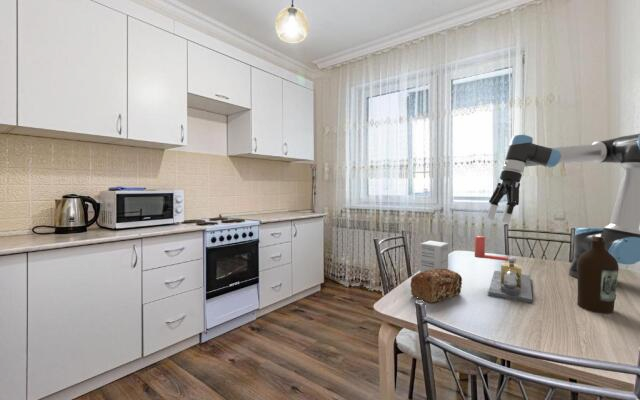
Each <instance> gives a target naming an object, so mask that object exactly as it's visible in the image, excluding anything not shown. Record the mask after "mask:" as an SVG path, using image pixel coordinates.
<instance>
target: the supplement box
mask: <svg viewBox="0 0 640 400" xmlns="http://www.w3.org/2000/svg"><path fill="white" fill-rule="evenodd" d="M419 252H420V253H419V254H420V255H419V257H420V258H419V260H420V261H419V263H420V264H419V273H420V272H424V271H428V270H432V269H448V270H449V242H444V241H443V242H442V241H435V240H428V241H424V242H421V243H420V251H419Z"/></svg>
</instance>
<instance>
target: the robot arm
mask: <svg viewBox="0 0 640 400" xmlns="http://www.w3.org/2000/svg"><path fill="white" fill-rule="evenodd" d="M533 140H534V139H533V137H532V136H530V135H527V134H516V135H514V136H512V137H511V140H510V143H509V145H508V149H507V153H506V157H505V160H504V161H503V163H502V164H503V167H502V171H501V173H500V176H499V179H500V180H501V181H502V182H498V183H497V184H496V187H495V190H494V191H493V193H492V195H491V197H490V198H489V201H488V203H490V206H489V209H488V213H487V216H486V219H489V220H495V217H496V214H497V210H498V207H499V202H501V200H502V199H503V197H504V196H506V201H507V202H506V205H505V209H504V211H503V215H502V219H501V221H502V222H507V223H510V221H511V218H512V215H513V213H514V212H513V211H514V209H515V207H516V206H519V204H520V188H521V183H520V182H521V180H522V177H523V173H524V169H525V167H536V166H542V167H548V168H553V167H556V166H557V165H558V164H570V163H583V162H584V163H585V162H593V163H595V164H599V163H600V164H601V163H615V164H620V166H621V167H622V168H623V173H622V176H621V180H620V184H619V186H618V192H617V194H616V195H617V196H616V199H615V204H614V207H613V211H612V215H611V218H610V221H609V224H607V225H606V226H603V227H577V228H576V229H575V233H574V250H573V254H574V255H573V260H572V262H571V264H570V266H569V268H568V275H569V276H571V277H574V278H577V279H578V276H577V261H578V258H579V256H580V255H581V254H583V253H584V252H586V251H587V250H588V249H590V248H591V247H592V240H593V239H592V237H593V236H598V237H604V238H605V240H604V241H605V249H606V250H607V251H608V252H609V253H610V254H611V255H612V256H613V257H614V258H615V259H616V261H617V263H618V264H620V265H627V266H628V265H634V264H637V263H639V262H640V133H636V134H630V135H623V136H619V137H614V138H611V139H606V140H601V141H600V140H599V141H594V142H593V143H592V144H580V145H579V144H578V145H569V146H558V147H547V146H544V145H539V144H535V143H533Z"/></svg>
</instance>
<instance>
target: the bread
mask: <svg viewBox="0 0 640 400" xmlns="http://www.w3.org/2000/svg"><path fill="white" fill-rule="evenodd" d="M462 281H463V277H462V275H461V274H460V273H458V272H456V271H454V270H451V269H449V268H448V269H432V270H428V271H424V272H420V271H419V272H418V273H416V274H415V275H413V276H412V277H411V278H410V291H411V296H413V297H414V298H416V297H418V298H420V299H419V300H421V301H423V300H424V302H426V303H429V304H431V303H432V304H433V303H435V302H441V301H444V300H447V299H450V298H452V297H455V296H459V295H460V294H461V293H462V291H461V290H462V284H463V282H462ZM418 298H417V299H418Z"/></svg>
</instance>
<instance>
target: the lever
mask: <svg viewBox="0 0 640 400" xmlns="http://www.w3.org/2000/svg"><path fill="white" fill-rule="evenodd" d="M474 257H475V258H477V259H478V258H479V259H487V260H488V259H489V260H494V261H495V260H496V261H503V262H504V261H505V262H509V261H510V262H516V263H517V258H516V257H511V256H510V257H509V256H501V255H500V256H499V255H494V254H493V255H489V254H486V236H482V235H476V236H475V235H474Z"/></svg>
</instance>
